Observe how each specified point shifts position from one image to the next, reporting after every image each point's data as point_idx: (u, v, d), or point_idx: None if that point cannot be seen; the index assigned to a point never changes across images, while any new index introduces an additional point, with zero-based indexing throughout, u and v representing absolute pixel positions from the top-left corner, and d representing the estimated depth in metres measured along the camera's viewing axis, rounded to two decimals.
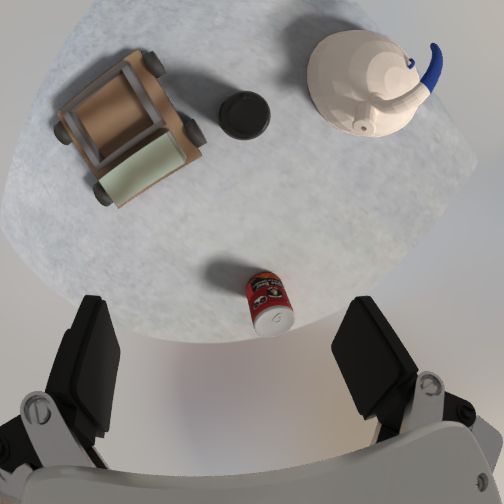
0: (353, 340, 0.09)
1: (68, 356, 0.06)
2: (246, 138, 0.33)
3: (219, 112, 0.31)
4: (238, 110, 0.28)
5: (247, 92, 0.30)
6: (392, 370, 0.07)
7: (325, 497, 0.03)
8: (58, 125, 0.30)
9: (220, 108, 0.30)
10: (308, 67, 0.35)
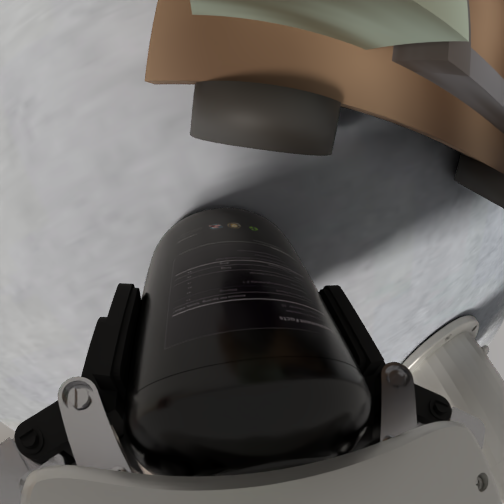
0: None
1: (108, 340, 0.06)
2: (136, 449, 0.04)
3: (357, 395, 0.05)
4: None
5: None
6: (356, 359, 0.07)
7: (325, 497, 0.03)
8: None
9: (365, 398, 0.05)
10: None
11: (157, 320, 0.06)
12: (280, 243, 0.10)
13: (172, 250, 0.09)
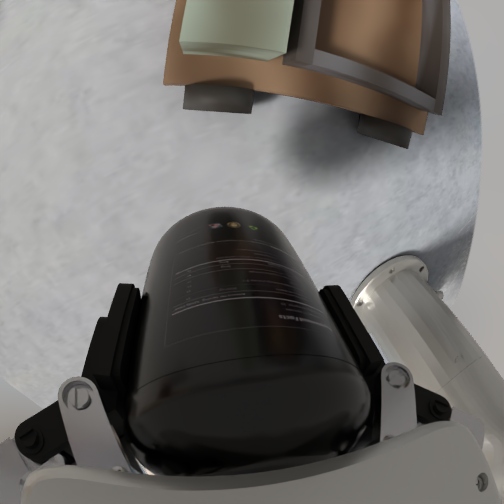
0: None
1: (108, 340, 0.06)
2: (136, 447, 0.04)
3: (356, 393, 0.05)
4: None
5: None
6: (355, 359, 0.07)
7: (325, 497, 0.03)
8: None
9: (364, 396, 0.05)
10: None
11: (157, 318, 0.06)
12: (280, 242, 0.10)
13: (172, 249, 0.09)
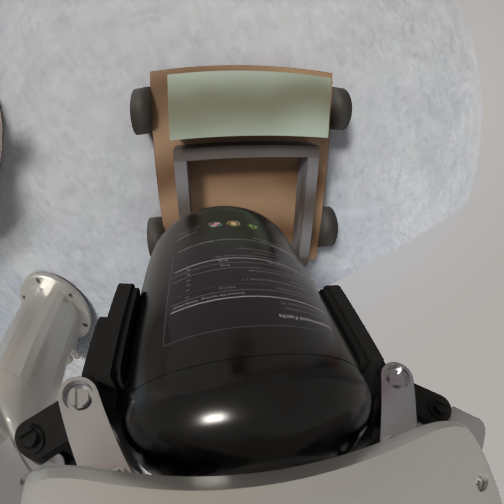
0: None
1: (108, 340, 0.06)
2: (134, 447, 0.04)
3: (356, 393, 0.05)
4: None
5: None
6: None
7: (325, 497, 0.03)
8: (324, 245, 0.29)
9: (365, 396, 0.05)
10: None
11: (156, 317, 0.06)
12: (280, 241, 0.09)
13: (171, 248, 0.09)
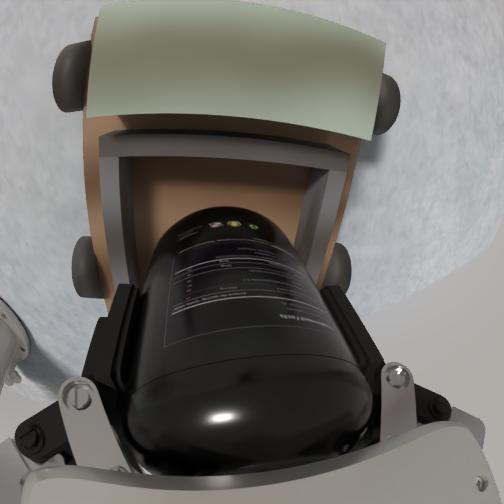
0: None
1: (108, 340, 0.06)
2: (135, 448, 0.04)
3: (358, 393, 0.05)
4: None
5: None
6: None
7: (325, 497, 0.03)
8: None
9: (366, 396, 0.05)
10: None
11: (157, 318, 0.06)
12: (280, 241, 0.09)
13: (172, 248, 0.09)
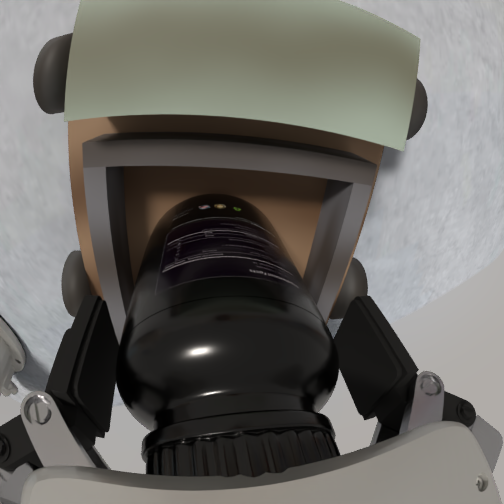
0: (353, 340, 0.09)
1: (68, 356, 0.06)
2: (125, 386, 0.06)
3: (317, 338, 0.06)
4: None
5: None
6: (392, 370, 0.07)
7: (325, 497, 0.03)
8: (340, 318, 0.18)
9: (327, 345, 0.06)
10: None
11: (151, 276, 0.08)
12: (260, 221, 0.11)
13: (166, 227, 0.10)
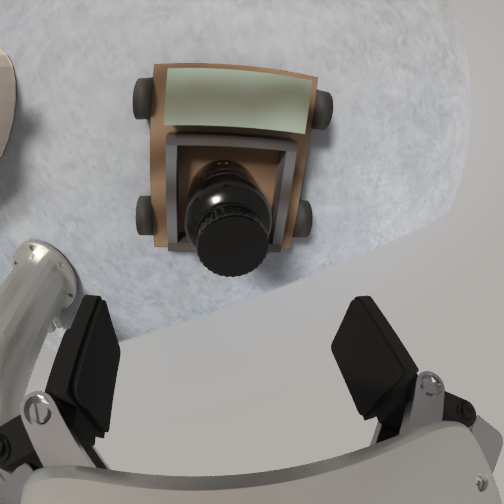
0: (353, 340, 0.09)
1: (68, 356, 0.06)
2: (191, 211, 0.19)
3: (257, 193, 0.19)
4: (253, 239, 0.17)
5: None
6: (392, 370, 0.07)
7: (325, 497, 0.03)
8: (298, 235, 0.31)
9: (262, 197, 0.20)
10: (6, 138, 0.21)
11: (200, 182, 0.21)
12: (243, 169, 0.24)
13: (203, 171, 0.24)
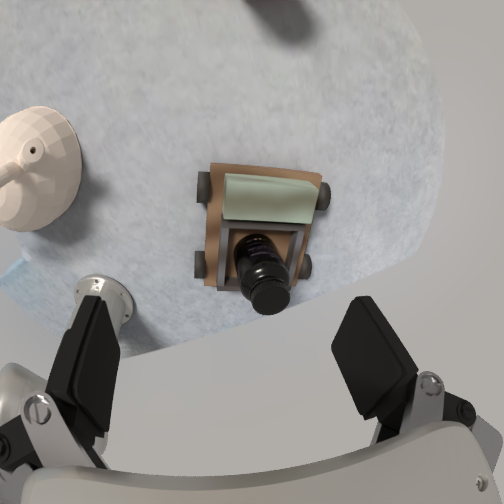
0: (353, 340, 0.09)
1: (68, 356, 0.06)
2: (246, 278, 0.34)
3: (283, 268, 0.35)
4: (282, 297, 0.33)
5: None
6: (392, 370, 0.07)
7: (325, 497, 0.03)
8: (301, 278, 0.46)
9: (285, 270, 0.35)
10: (74, 196, 0.35)
11: (248, 257, 0.36)
12: (271, 243, 0.39)
13: (245, 244, 0.39)
